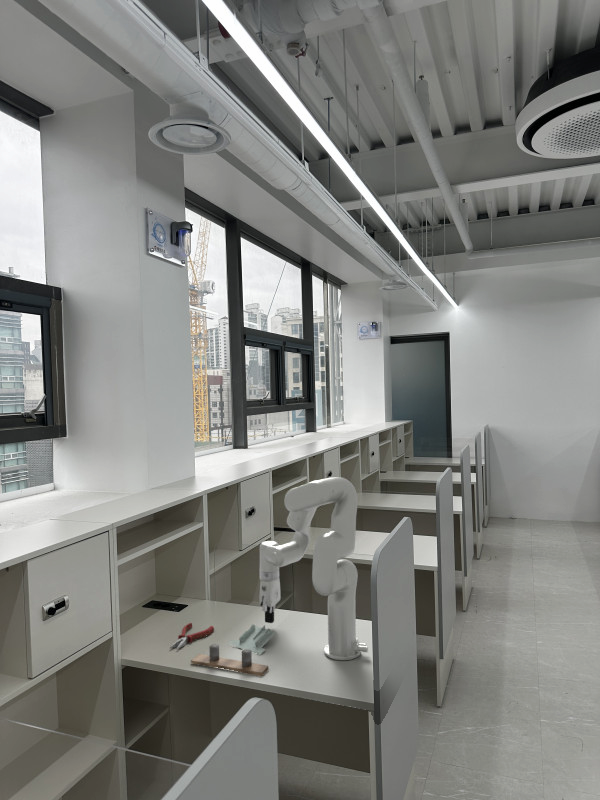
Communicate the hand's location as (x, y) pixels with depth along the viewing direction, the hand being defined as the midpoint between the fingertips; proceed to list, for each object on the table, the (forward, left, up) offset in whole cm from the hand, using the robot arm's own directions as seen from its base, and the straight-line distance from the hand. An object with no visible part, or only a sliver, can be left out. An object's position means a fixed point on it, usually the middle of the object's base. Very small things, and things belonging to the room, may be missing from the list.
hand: (269, 621), depth 214 cm
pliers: (+26, +18, -3) cm, 31 cm away
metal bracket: (-1, +14, -3) cm, 15 cm away
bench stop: (0, +33, -2) cm, 33 cm away
